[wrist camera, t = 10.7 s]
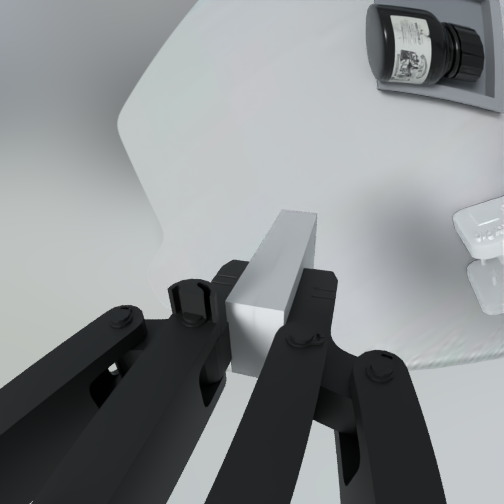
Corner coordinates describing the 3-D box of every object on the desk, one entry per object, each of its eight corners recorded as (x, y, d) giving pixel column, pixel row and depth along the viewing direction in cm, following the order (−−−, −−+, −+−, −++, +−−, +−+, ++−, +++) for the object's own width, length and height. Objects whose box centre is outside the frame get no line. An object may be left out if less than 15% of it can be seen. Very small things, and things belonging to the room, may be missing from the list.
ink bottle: (384, 19, 20) (497, 40, 17) (363, -11, 23) (461, 4, 21) (378, 100, 28) (475, 109, 26) (362, 57, 32) (449, 66, 30)
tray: (487, -4, 21) (497, -10, 18) (492, 111, 28) (503, 113, 25) (371, -28, 25) (372, -38, 22) (377, 88, 33) (379, 88, 30)
